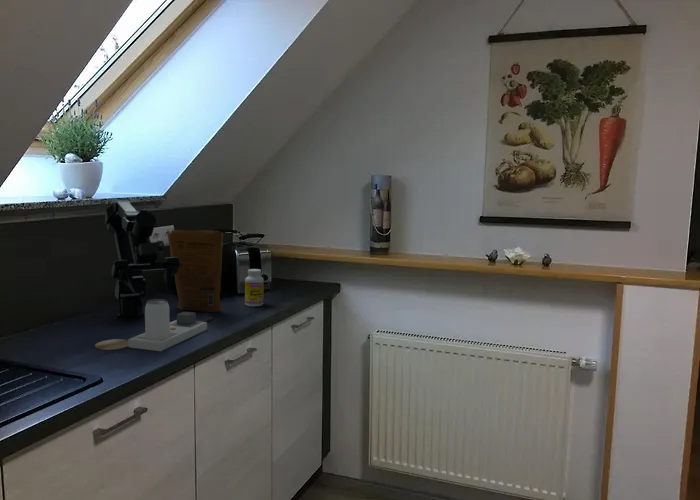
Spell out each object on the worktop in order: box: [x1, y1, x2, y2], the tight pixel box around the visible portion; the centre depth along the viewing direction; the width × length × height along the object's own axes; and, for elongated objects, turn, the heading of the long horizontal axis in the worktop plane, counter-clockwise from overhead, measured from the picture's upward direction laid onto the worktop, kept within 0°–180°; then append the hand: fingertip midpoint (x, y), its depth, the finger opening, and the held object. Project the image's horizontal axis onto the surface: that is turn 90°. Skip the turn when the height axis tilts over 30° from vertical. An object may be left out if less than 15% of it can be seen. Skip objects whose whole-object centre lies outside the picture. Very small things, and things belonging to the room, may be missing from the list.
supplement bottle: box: [244, 268, 265, 308], centre depth 217 cm, size 7×7×13 cm
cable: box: [202, 316, 213, 323], centre depth 191 cm, size 10×1×1 cm, turn 168°
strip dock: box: [127, 319, 208, 352], centre depth 173 cm, size 10×24×2 cm, turn 163°
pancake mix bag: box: [167, 229, 224, 313], centre depth 205 cm, size 7×19×28 cm, turn 77°
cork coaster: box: [94, 338, 129, 351], centre depth 165 cm, size 9×9×1 cm
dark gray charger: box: [176, 311, 197, 325], centre depth 181 cm, size 4×4×3 cm
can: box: [144, 298, 171, 341], centre depth 167 cm, size 6×6×12 cm
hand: (152, 291), depth 173 cm, fingers open, 9 cm apart
